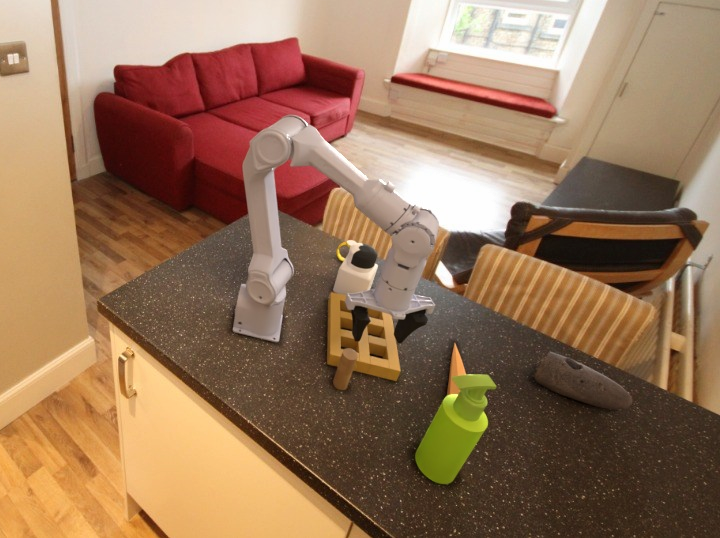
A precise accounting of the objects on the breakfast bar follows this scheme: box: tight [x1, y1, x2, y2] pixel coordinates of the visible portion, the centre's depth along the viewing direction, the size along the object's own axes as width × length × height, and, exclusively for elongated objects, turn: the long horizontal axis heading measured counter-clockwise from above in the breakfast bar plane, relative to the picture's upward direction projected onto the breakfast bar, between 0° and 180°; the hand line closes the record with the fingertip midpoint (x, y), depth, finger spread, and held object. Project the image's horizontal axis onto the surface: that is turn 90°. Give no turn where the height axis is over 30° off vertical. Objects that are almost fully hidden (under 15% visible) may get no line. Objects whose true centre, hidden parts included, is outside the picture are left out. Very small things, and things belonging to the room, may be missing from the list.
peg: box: [332, 347, 358, 391], centre depth 80 cm, size 3×3×8 cm
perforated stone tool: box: [534, 351, 634, 411], centre depth 82 cm, size 15×5×7 cm, turn 59°
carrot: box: [446, 342, 467, 396], centre depth 84 cm, size 20×4×4 cm, turn 155°
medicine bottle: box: [332, 242, 379, 296], centre depth 102 cm, size 7×7×12 cm
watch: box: [335, 239, 358, 262], centre depth 113 cm, size 6×3×6 cm, turn 59°
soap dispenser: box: [414, 373, 498, 485], centre depth 65 cm, size 6×7×20 cm
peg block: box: [326, 291, 401, 382], centre depth 91 cm, size 13×18×3 cm
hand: (376, 338), depth 79 cm, fingers open, 7 cm apart
